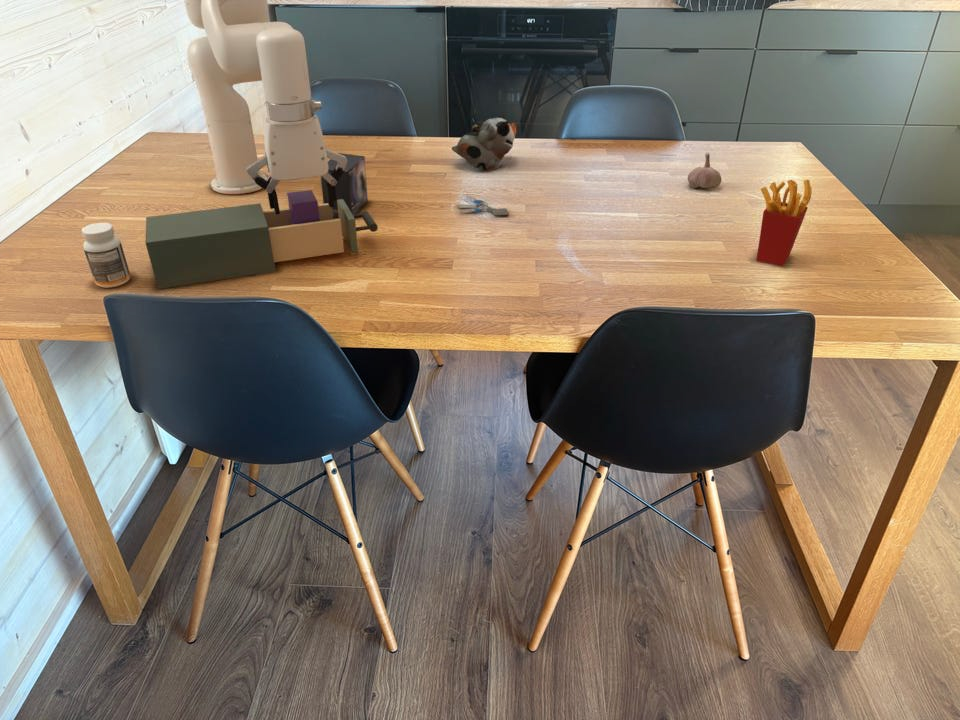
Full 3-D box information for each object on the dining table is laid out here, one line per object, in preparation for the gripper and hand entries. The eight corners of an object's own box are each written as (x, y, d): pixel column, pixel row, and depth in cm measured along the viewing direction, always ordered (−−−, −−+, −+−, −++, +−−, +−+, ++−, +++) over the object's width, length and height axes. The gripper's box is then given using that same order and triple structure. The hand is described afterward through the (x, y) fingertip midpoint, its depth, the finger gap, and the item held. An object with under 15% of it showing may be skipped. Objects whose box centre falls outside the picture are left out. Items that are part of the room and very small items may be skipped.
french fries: (787, 270, 127) (809, 190, 119) (741, 259, 131) (760, 181, 122) (797, 252, 133) (819, 176, 125) (753, 242, 137) (772, 167, 129)
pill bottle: (102, 274, 123) (85, 221, 118) (136, 273, 124) (120, 220, 118) (90, 289, 119) (71, 235, 113) (125, 288, 119) (108, 234, 114)
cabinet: (267, 246, 134) (260, 203, 129) (275, 271, 125) (268, 226, 120) (158, 261, 128) (146, 216, 123) (158, 289, 119) (145, 242, 114)
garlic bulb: (684, 189, 162) (690, 155, 157) (688, 179, 167) (694, 146, 163) (718, 194, 159) (725, 159, 155) (721, 184, 165) (728, 150, 161)
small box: (353, 220, 145) (348, 170, 139) (323, 217, 146) (317, 168, 140) (369, 202, 153) (366, 154, 148) (341, 199, 154) (336, 152, 149)
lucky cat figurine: (470, 151, 183) (497, 103, 177) (505, 178, 181) (533, 130, 174) (442, 149, 171) (469, 97, 164) (478, 178, 168) (508, 126, 162)
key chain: (514, 213, 148) (514, 209, 148) (488, 224, 143) (488, 220, 143) (467, 196, 156) (467, 193, 156) (440, 206, 151) (440, 203, 151)
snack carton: (293, 238, 132) (286, 192, 127) (317, 235, 133) (311, 189, 128) (298, 251, 127) (291, 204, 122) (323, 247, 129) (317, 200, 124)
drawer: (368, 229, 139) (365, 196, 135) (381, 249, 131) (378, 215, 127) (249, 245, 132) (243, 211, 128) (255, 268, 124) (248, 232, 120)
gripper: (337, 101, 123) (347, 195, 132) (234, 110, 117) (252, 207, 127) (346, 111, 117) (355, 209, 126) (238, 120, 111) (257, 222, 121)
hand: (304, 208), depth 126 cm, fingers open, 9 cm apart
